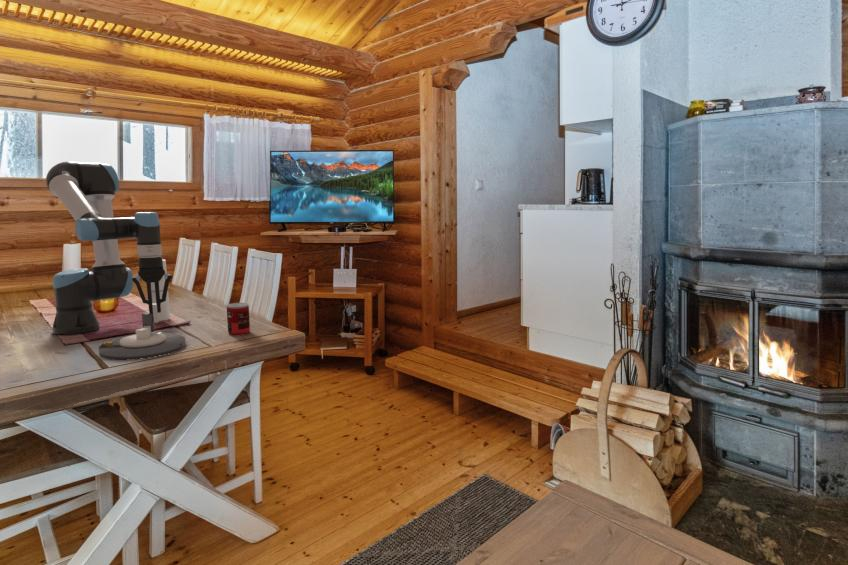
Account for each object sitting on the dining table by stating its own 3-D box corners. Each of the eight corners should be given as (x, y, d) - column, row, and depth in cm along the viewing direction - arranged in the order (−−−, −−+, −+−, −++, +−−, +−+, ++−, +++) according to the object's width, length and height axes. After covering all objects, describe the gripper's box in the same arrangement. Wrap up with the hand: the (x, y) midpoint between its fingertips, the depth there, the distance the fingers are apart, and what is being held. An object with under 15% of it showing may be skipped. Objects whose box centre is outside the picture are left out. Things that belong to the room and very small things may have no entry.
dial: (162, 345, 176) (160, 323, 175) (114, 349, 172) (112, 325, 171) (171, 332, 194) (169, 311, 193) (128, 334, 190) (126, 313, 189)
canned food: (231, 330, 205) (229, 302, 203) (252, 330, 206) (250, 302, 204) (225, 335, 198) (223, 306, 196) (247, 335, 198) (246, 306, 197)
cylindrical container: (162, 321, 220) (158, 261, 216) (147, 320, 221) (142, 261, 217) (174, 317, 227) (169, 259, 223) (159, 317, 228) (154, 259, 224)
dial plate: (82, 360, 168) (81, 353, 167) (125, 338, 193) (124, 332, 193) (165, 359, 169) (165, 352, 168) (197, 338, 194) (196, 331, 194)
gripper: (129, 258, 180) (135, 326, 184) (171, 256, 187) (176, 321, 191) (129, 256, 187) (135, 321, 191) (169, 254, 193) (174, 317, 197)
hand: (155, 321), depth 191 cm, fingers closed
